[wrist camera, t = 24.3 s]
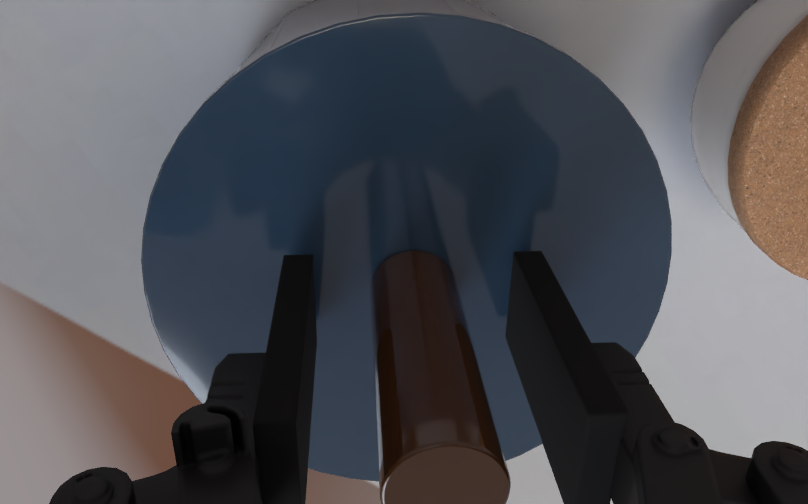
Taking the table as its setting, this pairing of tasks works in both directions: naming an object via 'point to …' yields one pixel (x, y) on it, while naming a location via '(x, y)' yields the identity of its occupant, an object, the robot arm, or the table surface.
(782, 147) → the trinket box
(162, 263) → the lid
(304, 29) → the pot
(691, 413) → the table surface
